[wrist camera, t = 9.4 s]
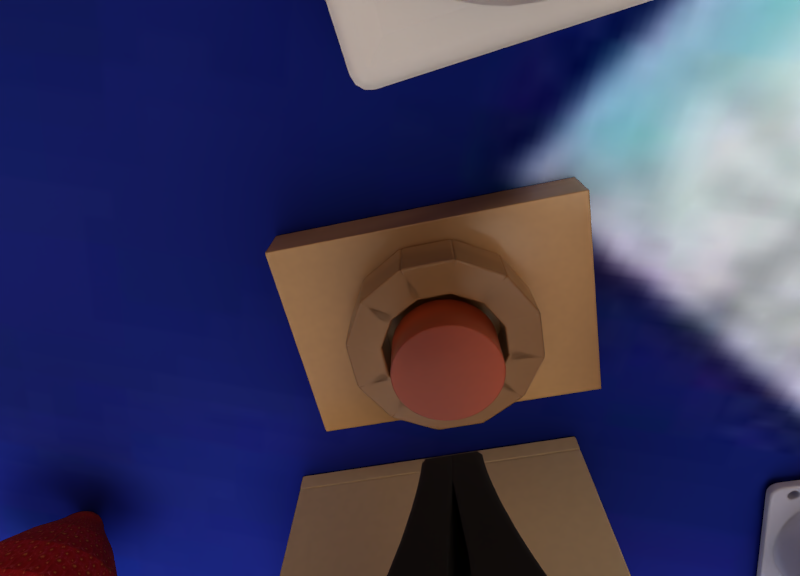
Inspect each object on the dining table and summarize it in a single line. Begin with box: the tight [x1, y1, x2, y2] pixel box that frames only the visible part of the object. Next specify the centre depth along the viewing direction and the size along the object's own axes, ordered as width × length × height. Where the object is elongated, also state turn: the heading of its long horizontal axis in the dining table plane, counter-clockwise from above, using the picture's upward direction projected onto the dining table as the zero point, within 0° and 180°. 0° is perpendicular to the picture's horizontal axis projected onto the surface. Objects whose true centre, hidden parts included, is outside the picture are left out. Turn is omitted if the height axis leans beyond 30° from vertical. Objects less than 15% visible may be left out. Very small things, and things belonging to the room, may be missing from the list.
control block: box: [265, 177, 601, 431], centre depth 20 cm, size 11×8×4 cm
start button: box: [390, 299, 506, 421], centre depth 18 cm, size 4×4×2 cm
